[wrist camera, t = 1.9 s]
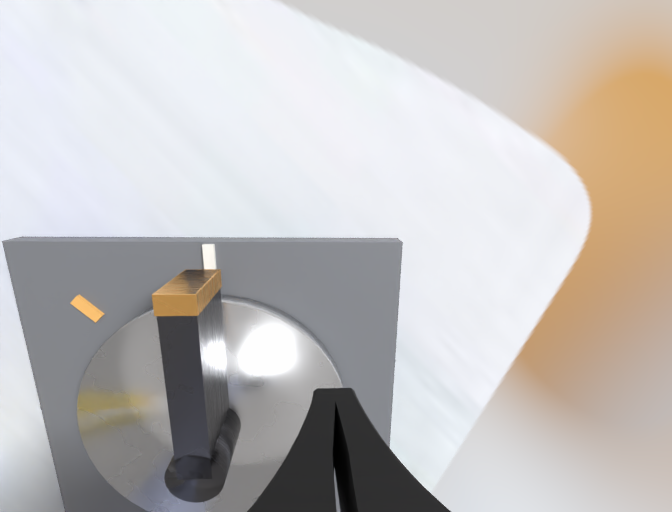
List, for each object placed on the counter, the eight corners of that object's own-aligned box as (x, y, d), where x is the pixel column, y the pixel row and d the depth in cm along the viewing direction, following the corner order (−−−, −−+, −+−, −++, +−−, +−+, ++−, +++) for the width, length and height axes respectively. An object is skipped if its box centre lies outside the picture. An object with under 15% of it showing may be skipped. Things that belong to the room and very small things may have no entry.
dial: (343, 504, 20) (350, 588, 16) (111, 513, 19) (57, 604, 15) (349, 263, 16) (360, 293, 12) (63, 263, 15) (-25, 295, 11)
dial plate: (380, 517, 21) (384, 537, 20) (85, 529, 20) (71, 551, 19) (397, 238, 17) (403, 243, 16) (21, 236, 16) (-2, 242, 15)
